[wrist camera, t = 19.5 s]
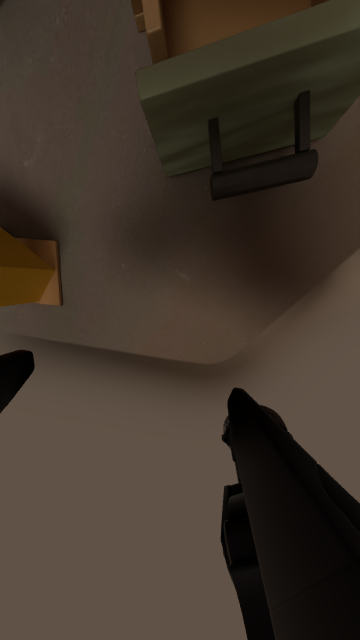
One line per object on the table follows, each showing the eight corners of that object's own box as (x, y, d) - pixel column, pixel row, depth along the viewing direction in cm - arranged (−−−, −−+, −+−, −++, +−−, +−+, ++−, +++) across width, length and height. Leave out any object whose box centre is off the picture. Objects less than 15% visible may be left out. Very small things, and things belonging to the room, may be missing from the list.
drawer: (323, 197, 14) (429, 126, 8) (174, 228, 16) (154, 193, 10) (328, -176, 10) (561, -1014, 4) (128, -76, 12) (40, -502, 6)
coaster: (58, 241, 19) (55, 240, 18) (62, 305, 21) (60, 305, 20) (0, 237, 20) (-4, 236, 19) (9, 299, 21) (6, 299, 21)
